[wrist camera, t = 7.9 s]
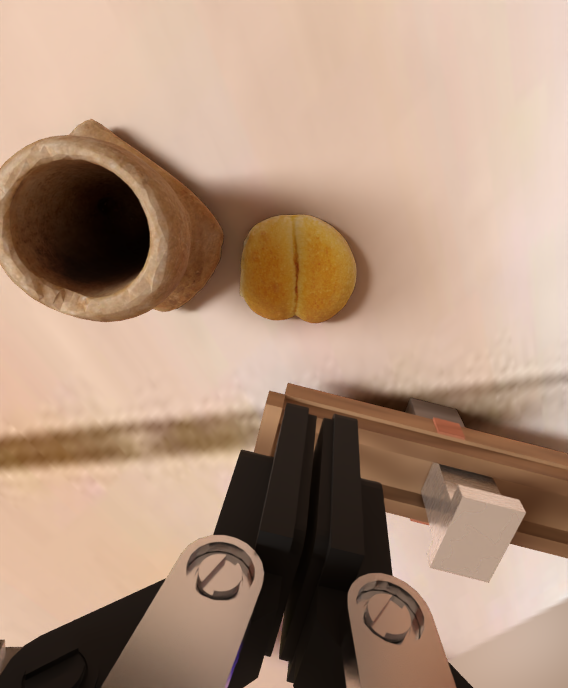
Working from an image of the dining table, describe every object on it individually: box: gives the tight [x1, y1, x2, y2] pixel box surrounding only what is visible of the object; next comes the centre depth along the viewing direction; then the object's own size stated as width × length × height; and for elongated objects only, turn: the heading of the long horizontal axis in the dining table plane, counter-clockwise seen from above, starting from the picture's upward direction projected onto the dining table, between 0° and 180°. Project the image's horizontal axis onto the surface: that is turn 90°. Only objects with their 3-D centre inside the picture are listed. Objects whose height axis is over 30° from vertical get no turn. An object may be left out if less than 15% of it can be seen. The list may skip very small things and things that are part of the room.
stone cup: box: [0, 119, 224, 322], centre depth 31 cm, size 15×12×15 cm
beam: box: [254, 383, 568, 558], centre depth 39 cm, size 7×27×8 cm, turn 77°
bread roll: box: [240, 215, 356, 323], centre depth 36 cm, size 8×9×4 cm
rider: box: [421, 462, 526, 583], centre depth 34 cm, size 6×4×6 cm, turn 167°
